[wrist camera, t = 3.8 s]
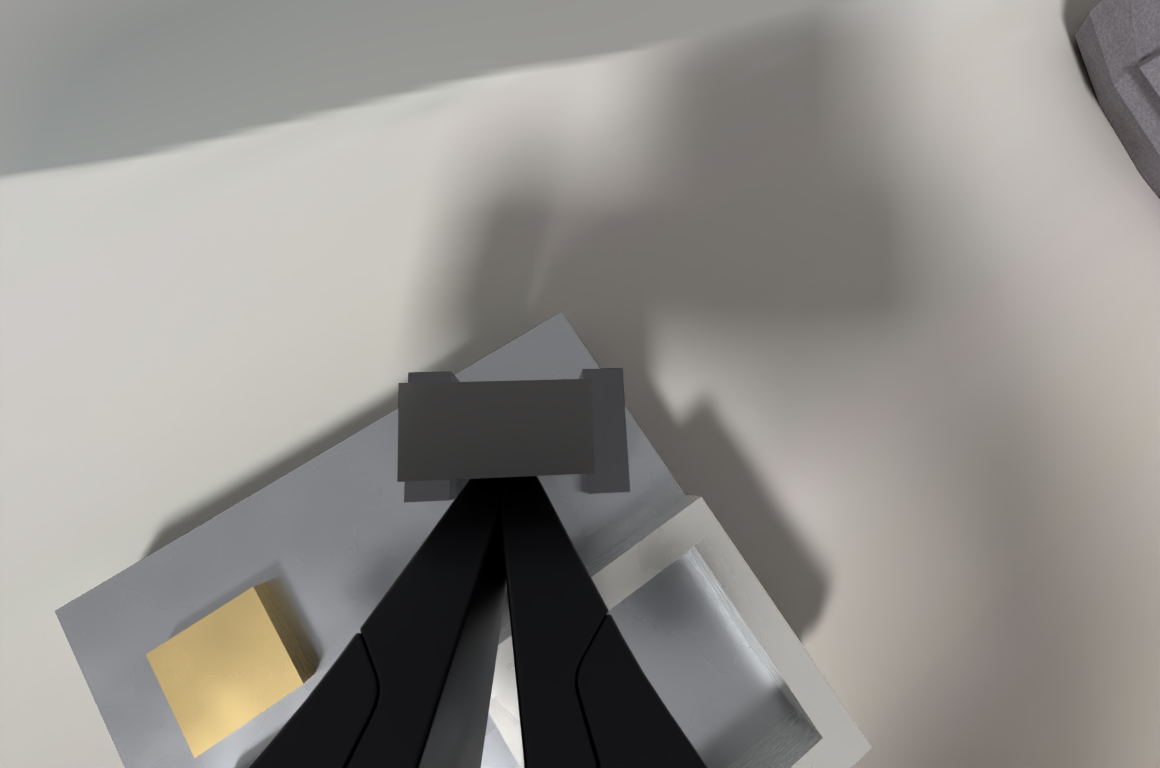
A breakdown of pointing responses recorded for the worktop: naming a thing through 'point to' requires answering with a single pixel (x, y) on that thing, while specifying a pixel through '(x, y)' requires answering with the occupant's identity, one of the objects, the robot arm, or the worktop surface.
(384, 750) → the robot arm
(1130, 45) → the small grey backpack
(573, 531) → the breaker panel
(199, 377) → the worktop surface
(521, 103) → the worktop surface
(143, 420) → the worktop surface
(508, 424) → the block
